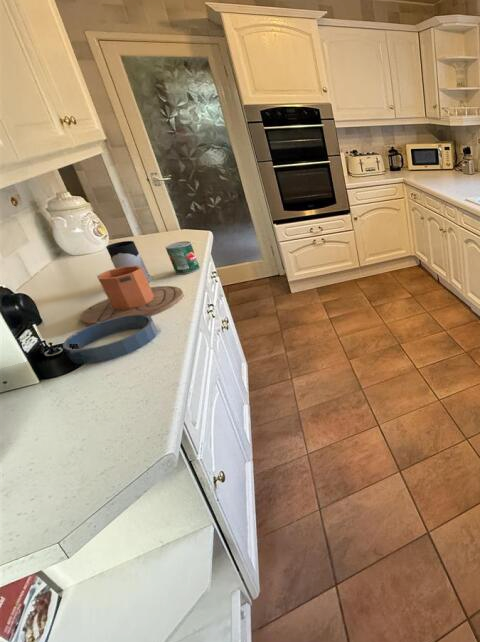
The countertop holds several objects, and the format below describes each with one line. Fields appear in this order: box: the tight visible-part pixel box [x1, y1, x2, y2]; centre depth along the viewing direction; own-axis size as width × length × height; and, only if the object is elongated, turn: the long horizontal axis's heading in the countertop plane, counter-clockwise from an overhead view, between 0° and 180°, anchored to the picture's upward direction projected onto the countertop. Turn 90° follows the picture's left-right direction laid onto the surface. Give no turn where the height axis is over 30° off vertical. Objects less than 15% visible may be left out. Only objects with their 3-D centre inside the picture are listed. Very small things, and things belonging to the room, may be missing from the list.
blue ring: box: [62, 315, 159, 365], centre depth 106 cm, size 17×17×6 cm
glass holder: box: [105, 240, 153, 283], centre depth 147 cm, size 9×14×15 cm, turn 30°
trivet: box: [80, 285, 185, 328], centre depth 128 cm, size 25×25×2 cm
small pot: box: [96, 266, 154, 310], centre depth 125 cm, size 13×10×11 cm
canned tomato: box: [164, 240, 201, 275], centre depth 155 cm, size 8×8×11 cm
